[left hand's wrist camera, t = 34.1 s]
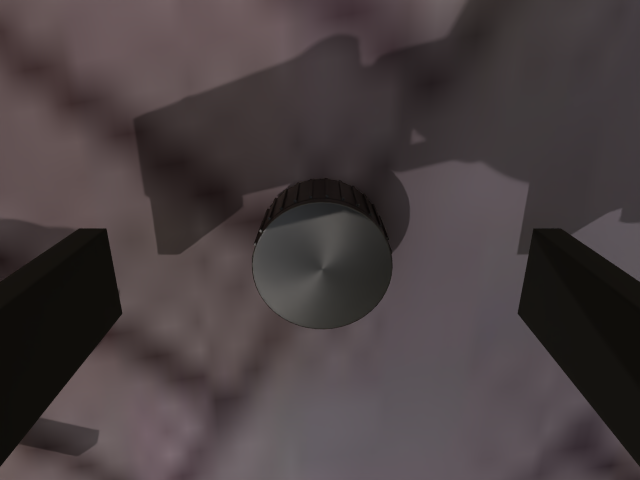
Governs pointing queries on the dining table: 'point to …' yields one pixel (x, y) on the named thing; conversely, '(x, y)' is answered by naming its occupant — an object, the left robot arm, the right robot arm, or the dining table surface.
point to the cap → (322, 255)
